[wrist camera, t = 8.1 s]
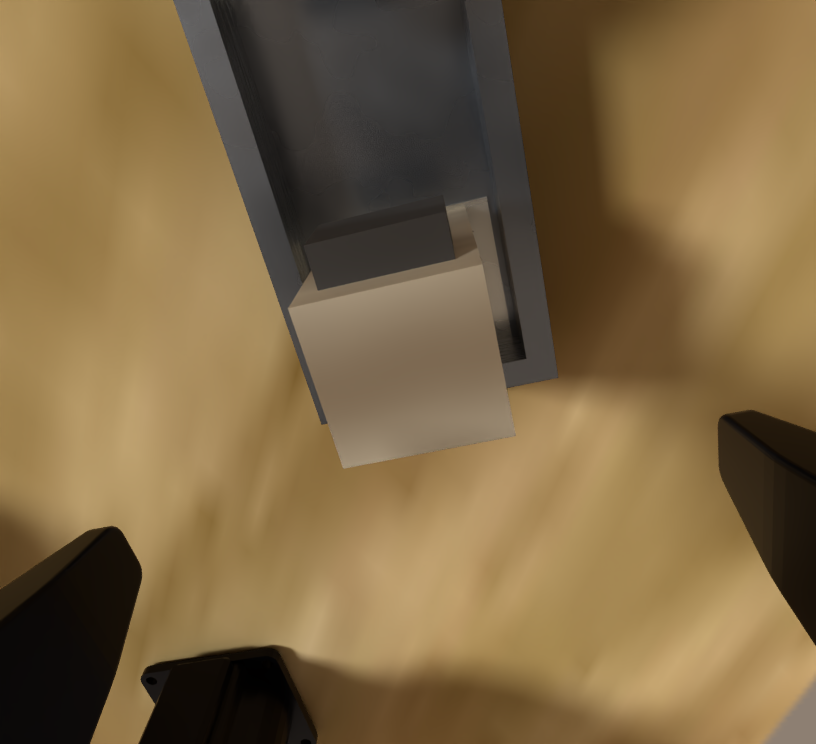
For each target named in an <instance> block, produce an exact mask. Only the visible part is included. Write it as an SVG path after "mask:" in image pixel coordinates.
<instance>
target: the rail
mask: <svg viewBox="0 0 816 744" xmlns="http://www.w3.org/2000/svg"><path fill="white" fill-rule="evenodd" d="M173 1H174V4H175V7H176V10H177V12H178V15H179V18H180V21H181V24H182V27H183V30H184V32H185V35H186V38H187V41H188V44H189V47H190V50H191V52H192V55H193V58H194V61H195V64H196V67H197V70H198V72H199V75H200V78H201V81H202V84H203V87H204V90H205V92H206V95H207V98H208V101H209V104H210V107H211V110H212V112H213V115H214V118H215V121H216V124H217V127H218V130H219V132H220V135H221V138H222V141H223V144H224V147H225V150H226V152H227V155H228V158H229V161H230V164H231V167H232V170H233V172H234V175H235V178H236V181H237V184H238V187H239V190H240V192H241V195H242V198H243V201H244V204H245V207H246V210H247V212H248V215H249V218H250V221H251V224H252V227H253V230H254V232H255V235H256V238H257V241H258V244H259V247H260V250H261V252H262V255H263V258H264V261H265V264H266V267H267V270H268V272H269V275H270V278H271V281H272V284H273V287H274V290H275V292H276V295H277V298H278V301H279V304H280V307H281V310H282V312H283V315H284V318H285V321H286V324H287V327H288V330H289V332H290V335H291V338H292V341H293V344H294V347H295V350H296V352H297V355H298V358H299V361H300V364H301V367H302V370H303V372H304V375H305V378H306V381H307V384H308V387H309V390H310V392H311V395H312V398H313V401H314V404H315V407H316V410H317V412H318V415H319V418H320V421H321V424H327V420H326V417H325V414H324V411H323V408H322V405H321V403H320V400H319V397H318V394H317V391H316V388H315V385H314V382H313V379H312V377H311V374H310V371H309V368H308V365H307V362H306V359H305V356H304V353H303V351H302V348H301V345H300V342H299V339H298V336H297V333H296V330H295V328H294V325H293V322H292V319H291V316H290V313H289V310H288V307H289V306H290V304H291V303H292V301H293V299H294V298H295V296H296V295H297V293H298V291H299V290H300V288H301V286H302V285H303V283H304V282H305V280H306V278H307V277H308V275H309V273H310V272H311V268H310V265H309V262H308V259H307V255H306V252H305V249H304V246H303V245H304V244H305V243H306V242H307V240H308V239H309V238H310V236H311V235H312V234H313V232H314V231H315V230H316V228H317V227H318V226H319V225H321V224H325V223H329V222H333V221H338V220H342V219H346V218H350V217H354V216H358V215H362V214H366V213H370V212H374V211H378V210H383V209H387V208H391V207H395V206H399V205H403V204H407V203H411V202H415V201H419V200H424V199H428V198H432V197H436V196H440V195H443V197H444V202H445V207H446V211H450V210H454V209H458V208H462V207H465V208H466V212H467V215H468V218H469V222H470V225H471V228H472V231H473V235H474V238H475V241H476V245H477V248H478V251H479V255H480V258H481V261H482V265H483V270H484V275H485V280H486V285H487V290H488V295H489V300H490V306H491V311H492V316H493V321H494V326H495V331H496V336H497V342H498V347H499V352H500V357H501V362H502V367H503V372H504V377H505V383H506V388H509V387H514V386H519V385H524V384H529V383H534V382H539V381H544V380H549V379H554V378H558V372H557V366H556V359H555V352H554V346H553V339H552V333H551V326H550V319H549V313H548V306H547V299H546V293H545V286H544V279H543V273H542V266H541V260H540V253H539V246H538V240H537V233H536V226H535V220H534V213H533V207H532V200H531V193H530V187H529V180H528V173H527V167H526V160H525V154H524V147H523V140H522V134H521V127H520V120H519V114H518V107H517V101H516V94H515V87H514V81H513V74H512V67H511V61H510V54H509V48H508V41H507V34H506V28H505V21H504V14H503V8H502V1H501V0H173Z"/></svg>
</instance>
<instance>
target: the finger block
mask: <svg viewBox="0 0 816 744" xmlns="http://www.w3.org/2000/svg"><path fill="white" fill-rule="evenodd" d="M303 246H304V249H305V252H306V255H307V259H308V262H309V265H310V268H311V272H310V273H309V275H308V277H307V278H306V280H305V282H304V283H303V285H302V286H301V288H300V290H299V291H298V293H297V295H296V296H295V298H294V299H293V301H292V303H291V304H290V306H289V307H288V310H289V313H290V316H291V319H292V322H293V325H294V328H295V330H296V333H297V336H298V339H299V342H300V345H301V348H302V351H303V353H304V356H305V359H306V362H307V365H308V368H309V371H310V374H311V377H312V379H313V382H314V385H315V388H316V391H317V394H318V397H319V400H320V403H321V405H322V408H323V411H324V414H325V417H326V420H327V423H328V426H329V429H330V431H331V434H332V437H333V440H334V443H335V446H336V449H337V452H338V455H339V457H340V460H341V463H342V466H343V469H344V468H349V467H354V466H360V465H365V464H370V463H375V462H381V461H386V460H391V459H397V458H402V457H407V456H412V455H418V454H423V453H428V452H434V451H439V450H444V449H450V448H455V447H460V446H465V445H471V444H476V443H481V442H487V441H492V440H497V439H502V438H508V437H513V436H516V434H515V429H514V424H513V419H512V413H511V408H510V403H509V398H508V393H507V388H506V383H505V377H504V372H503V367H502V362H501V357H500V352H499V347H498V342H497V336H496V331H495V326H494V321H493V316H492V311H491V306H490V300H489V295H488V290H487V285H486V280H485V275H484V270H483V265H482V261H481V258H480V255H479V251H478V248H477V245H476V241H475V238H474V235H473V231H472V228H471V225H470V222H469V218H468V215H467V212H466V208H465V207H462V208H458V209H454V210H450V211H446V207H445V202H444V197H443V195H440V196H436V197H432V198H428V199H424V200H419V201H415V202H411V203H407V204H403V205H399V206H395V207H391V208H387V209H383V210H378V211H374V212H370V213H366V214H362V215H358V216H354V217H350V218H346V219H342V220H338V221H333V222H329V223H325V224H321V225H319V226H318V227H317V228H316V230H315V231H314V232H313V234H312V235H311V236H310V238H309V239H308V240H307V242H306V243H305V244H304V245H303Z"/></svg>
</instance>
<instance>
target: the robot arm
mask: <svg viewBox="0 0 816 744" xmlns="http://www.w3.org/2000/svg"><path fill="white" fill-rule="evenodd" d="M718 455H719V470H720V474H721V477H722V480H723V482H724V485H725V487H726V489H727V491H728V493H729V495H730V497H731V499H732V501H733V503H734V505H735V507H736V509H737V511H738V513H739V515H740V517H741V519H742V521H743V523H744V525H745V527H746V529H747V531H748V533H749V535H750V537H751V539H752V541H753V543H754V545H755V547H756V549H757V551H758V553H759V555H760V557H761V559H762V561H763V562H764V564H765V566H766V568H767V570H768V572H769V574H770V576H771V577H772V579H773V581H774V582H775V584H776V586H777V587H778V589H779V590H780V592H781V594H782V595H783V597H784V598H785V600H786V601H787V603H788V604H789V606H790V607H791V609H792V610H793V612H794V613H795V615H796V617H797V618H798V620H799V621H800V623H801V624H802V626H803V627H804V629H805V630H806V632H807V633H808V635H809V636H810V638H811V639H812V641H813V642H814V644H815V646H816V432H814V431H811V430H809V429H806V428H803V427H800V426H797V425H794V424H792V423H789V422H786V421H783V420H780V419H777V418H774V417H772V416H769V415H766V414H763V413H760V412H757V411H754V410H746V411H740V412H735V413H730V414H725V415H722V416H721V418H720V419H719V422H718ZM141 580H142V569H141V565H140V563H139V561H138V559H137V557H136V556H135V554H134V552H133V550H132V549H131V547H130V545H129V543H128V541H127V540H126V538H125V536H124V534H123V533H122V531H121V530H120V529H118V528H117V527H114V526H109V527H103V528H97V529H92V530H89V531H87V532H85V533H84V534H82V535H81V536H79V537H78V538H76V539H75V540H73V541H72V542H70V543H69V544H67V545H66V546H64V547H63V548H61V549H60V550H58V551H57V552H55V553H54V554H52V555H51V556H49V557H48V558H47V559H45V560H44V561H42V562H41V563H39V564H38V565H36V566H35V567H33V568H32V569H30V570H29V571H27V572H26V573H24V574H23V575H21V576H20V577H18V578H17V579H15V580H14V581H12V582H11V583H9V584H8V585H6V586H5V587H3V588H2V589H1V590H0V744H90V742H91V739H92V737H93V734H94V731H95V729H96V726H97V723H98V721H99V718H100V715H101V713H102V710H103V708H104V705H105V702H106V700H107V697H108V694H109V692H110V689H111V686H112V683H113V680H114V677H115V675H116V671H117V668H118V665H119V661H120V658H121V654H122V651H123V647H124V643H125V640H126V636H127V632H128V629H129V625H130V621H131V617H132V614H133V610H134V606H135V603H136V599H137V595H138V592H139V588H140V584H141ZM141 682H142V684H143V686H144V687H145V689H146V690H147V692H148V694H149V695H150V697H151V698H152V700H153V702H154V703H155V707H154V709H153V711H152V714H151V716H150V718H149V720H148V723H147V725H146V727H145V730H144V732H143V734H142V736H141V739H140V741H139V743H138V744H316V743H317V737H318V735H317V732H316V729H315V727H314V725H313V723H312V721H311V719H310V717H309V715H308V713H307V710H306V708H305V706H304V704H303V702H302V700H301V698H300V696H299V694H298V691H297V689H296V687H295V685H294V683H293V681H292V679H291V677H290V674H289V672H288V670H287V668H286V666H285V664H284V662H283V660H282V658H281V655H280V654H279V653H278V652H277V651H276V650H274V649H270V648H265V649H258V650H252V651H245V652H238V653H232V654H225V655H219V656H212V657H205V658H199V659H192V660H185V661H179V662H172V663H165V664H159V665H152V666H148V667H147V668H145V670H144V672H143V674H142V676H141Z"/></svg>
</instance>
